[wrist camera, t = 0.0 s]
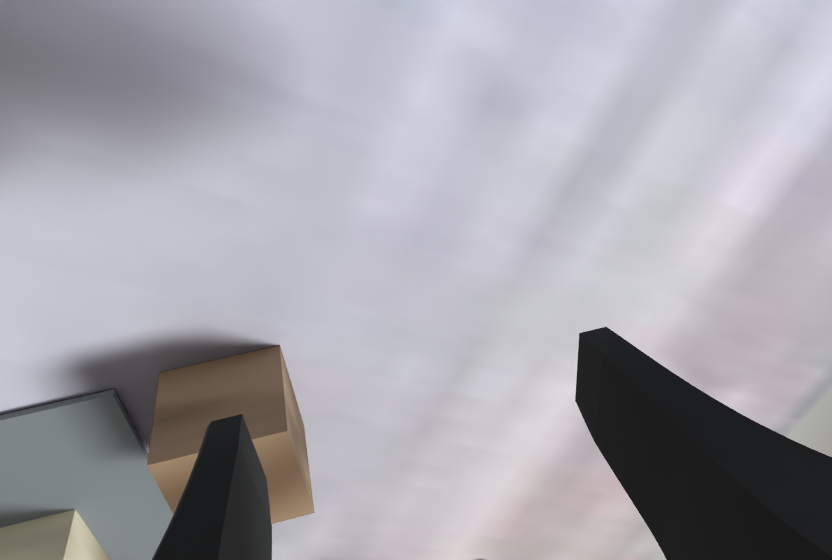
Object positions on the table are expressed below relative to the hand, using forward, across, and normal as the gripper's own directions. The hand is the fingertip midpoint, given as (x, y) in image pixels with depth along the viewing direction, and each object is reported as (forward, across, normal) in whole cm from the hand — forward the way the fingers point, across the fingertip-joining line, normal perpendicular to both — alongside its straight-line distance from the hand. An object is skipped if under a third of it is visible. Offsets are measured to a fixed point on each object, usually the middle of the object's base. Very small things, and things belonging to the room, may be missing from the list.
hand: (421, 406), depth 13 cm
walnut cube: (+10, +6, +8) cm, 14 cm away
